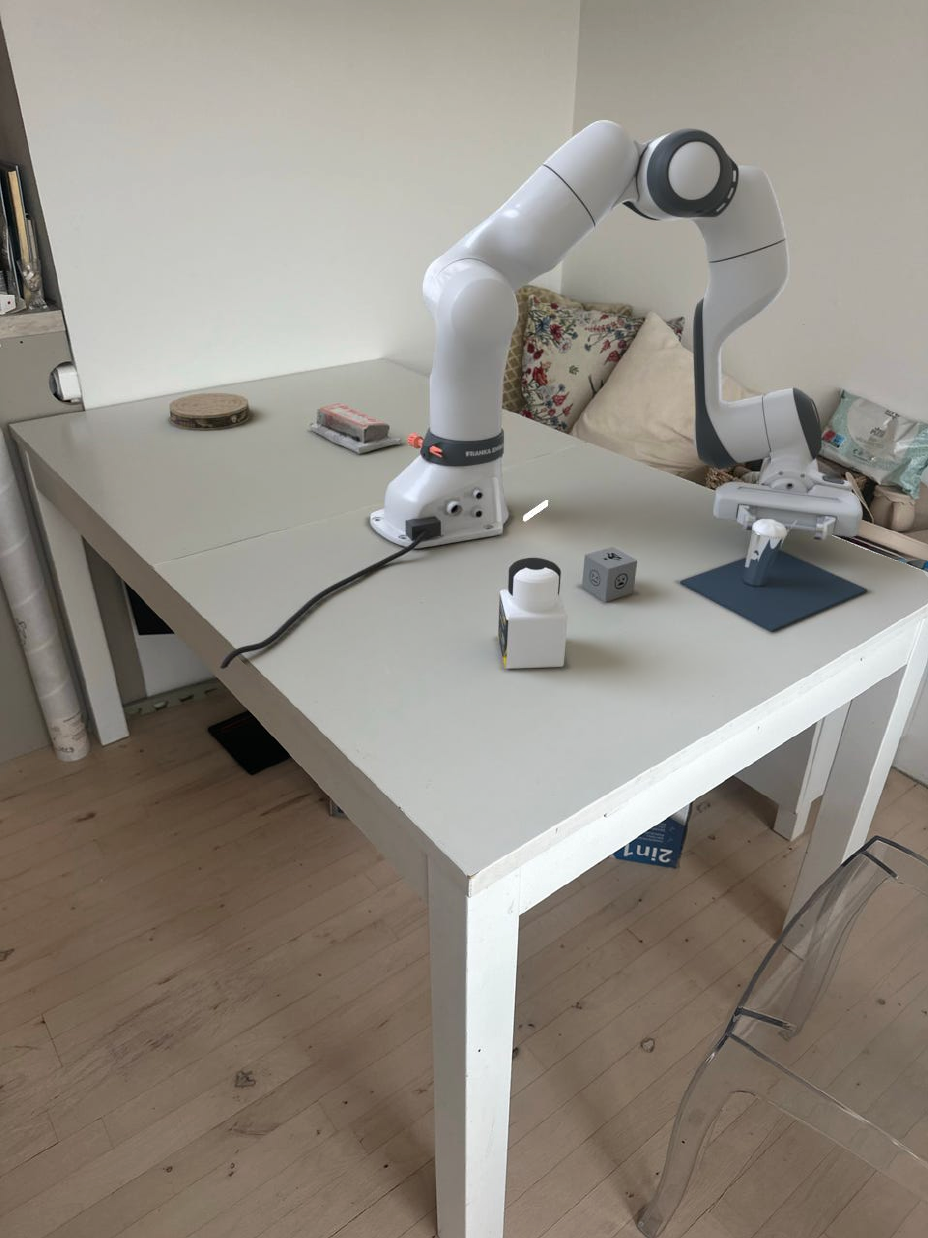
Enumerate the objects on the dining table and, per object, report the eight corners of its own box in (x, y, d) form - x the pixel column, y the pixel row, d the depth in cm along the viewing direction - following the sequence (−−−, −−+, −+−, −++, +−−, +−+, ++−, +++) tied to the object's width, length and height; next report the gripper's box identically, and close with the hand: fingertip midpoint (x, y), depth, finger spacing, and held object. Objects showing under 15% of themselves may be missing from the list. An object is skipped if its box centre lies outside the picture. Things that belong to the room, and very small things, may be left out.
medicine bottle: (497, 638, 114) (500, 552, 108) (553, 636, 114) (560, 550, 108) (504, 670, 108) (508, 580, 101) (564, 667, 108) (571, 578, 102)
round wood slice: (241, 403, 198) (239, 389, 196) (257, 424, 185) (256, 410, 184) (165, 411, 192) (163, 397, 191) (177, 434, 180) (175, 419, 178)
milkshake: (778, 592, 125) (799, 527, 119) (738, 585, 125) (757, 520, 120) (775, 576, 129) (795, 513, 123) (736, 570, 129) (755, 506, 124)
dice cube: (633, 593, 125) (637, 560, 122) (605, 602, 122) (608, 569, 120) (609, 578, 128) (613, 546, 126) (581, 587, 126) (584, 554, 123)
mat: (771, 632, 116) (772, 629, 116) (680, 583, 127) (680, 580, 127) (866, 591, 126) (867, 589, 126) (773, 549, 137) (774, 547, 137)
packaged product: (306, 407, 180) (348, 398, 185) (308, 431, 182) (349, 421, 188) (358, 430, 168) (401, 420, 174) (359, 455, 170) (401, 444, 176)
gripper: (719, 465, 138) (711, 498, 127) (863, 483, 132) (867, 519, 121) (713, 504, 141) (704, 539, 130) (853, 522, 136) (856, 561, 124)
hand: (784, 530), depth 125 cm, fingers open, 8 cm apart
